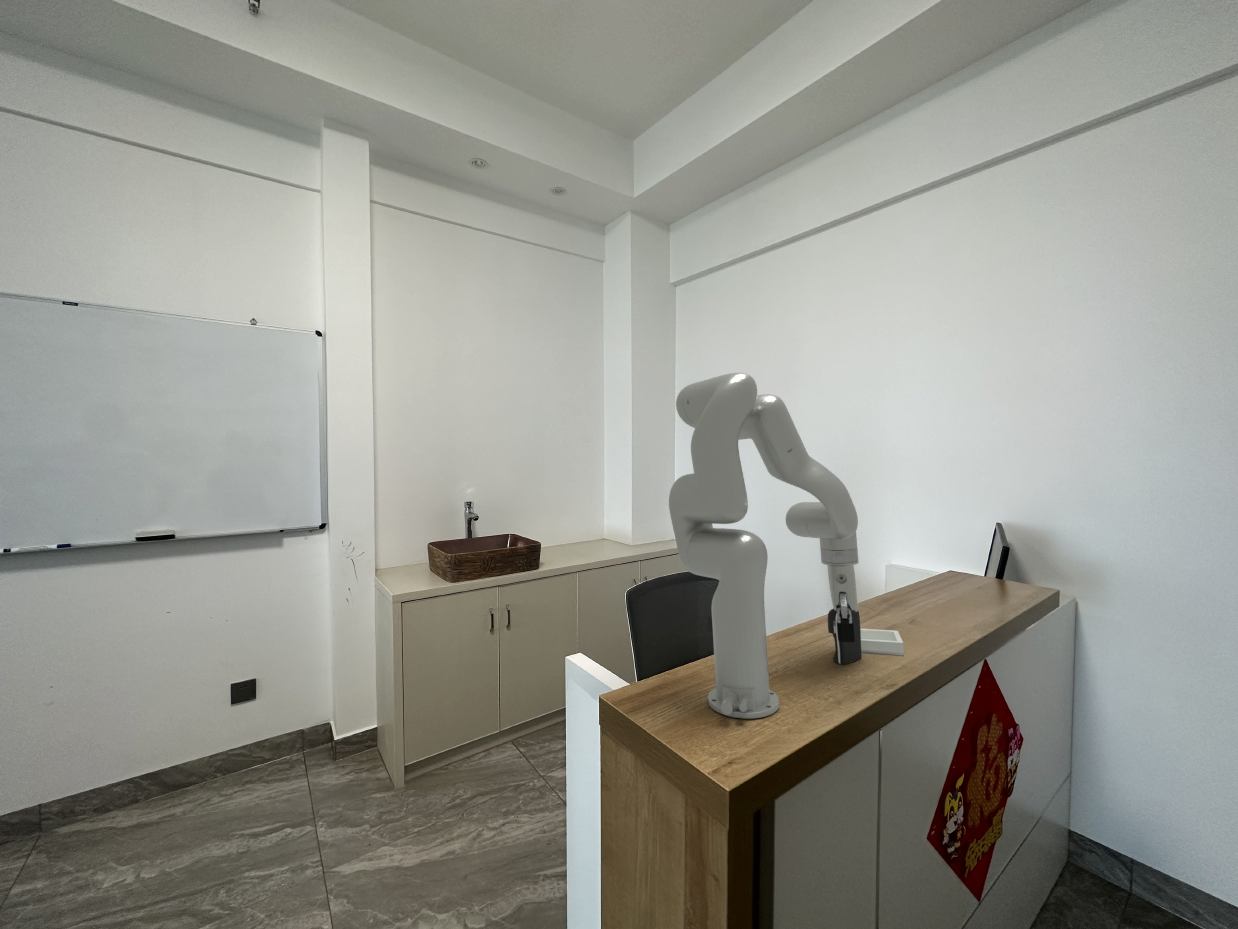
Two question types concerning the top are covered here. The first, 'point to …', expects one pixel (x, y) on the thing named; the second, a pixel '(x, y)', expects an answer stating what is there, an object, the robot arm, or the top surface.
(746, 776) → the top surface
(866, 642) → the tray
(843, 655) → the battery charger
